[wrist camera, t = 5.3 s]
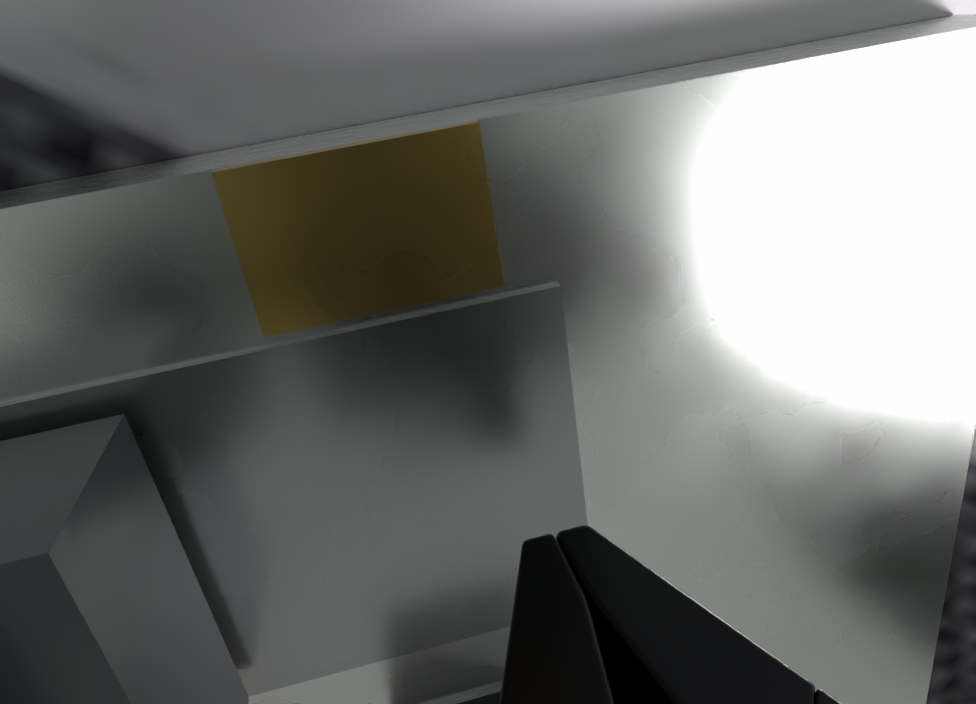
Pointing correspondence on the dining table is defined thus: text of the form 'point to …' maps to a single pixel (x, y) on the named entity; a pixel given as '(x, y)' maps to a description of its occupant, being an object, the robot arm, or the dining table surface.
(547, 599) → the robot arm
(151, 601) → the toggle
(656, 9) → the dining table surface
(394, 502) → the panel
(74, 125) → the dining table surface
